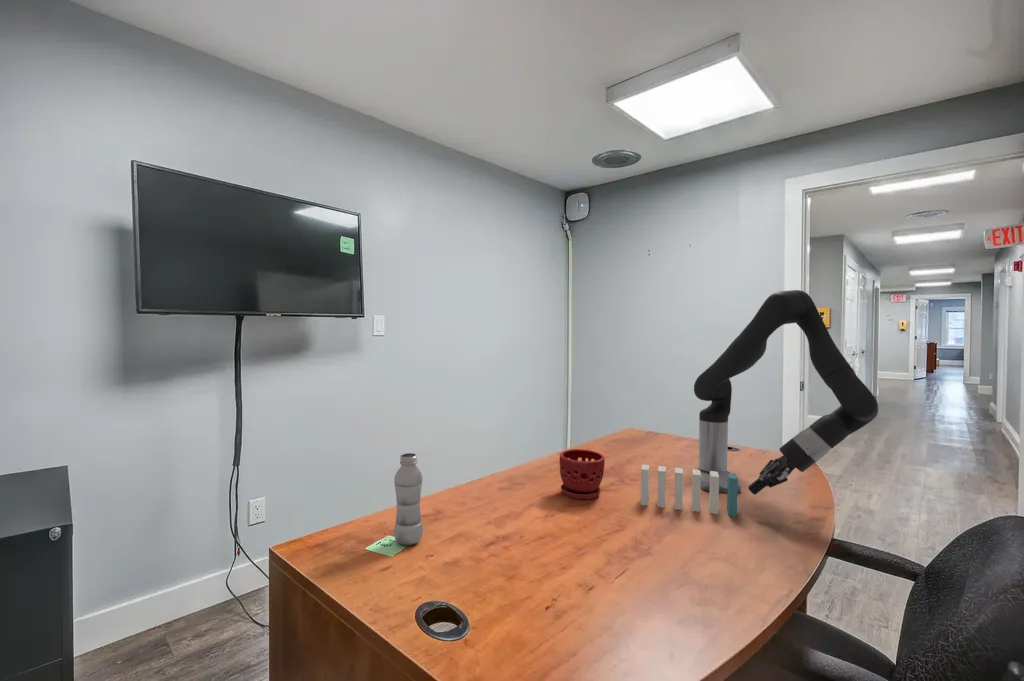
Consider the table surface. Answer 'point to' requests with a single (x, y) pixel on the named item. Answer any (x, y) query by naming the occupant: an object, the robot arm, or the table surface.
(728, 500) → the domino
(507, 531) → the table surface
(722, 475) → the stone block
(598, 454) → the plant pot
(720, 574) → the table surface
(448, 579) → the table surface
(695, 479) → the domino
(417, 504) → the plastic bottle
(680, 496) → the domino
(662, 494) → the domino
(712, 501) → the domino
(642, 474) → the domino
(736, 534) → the table surface
